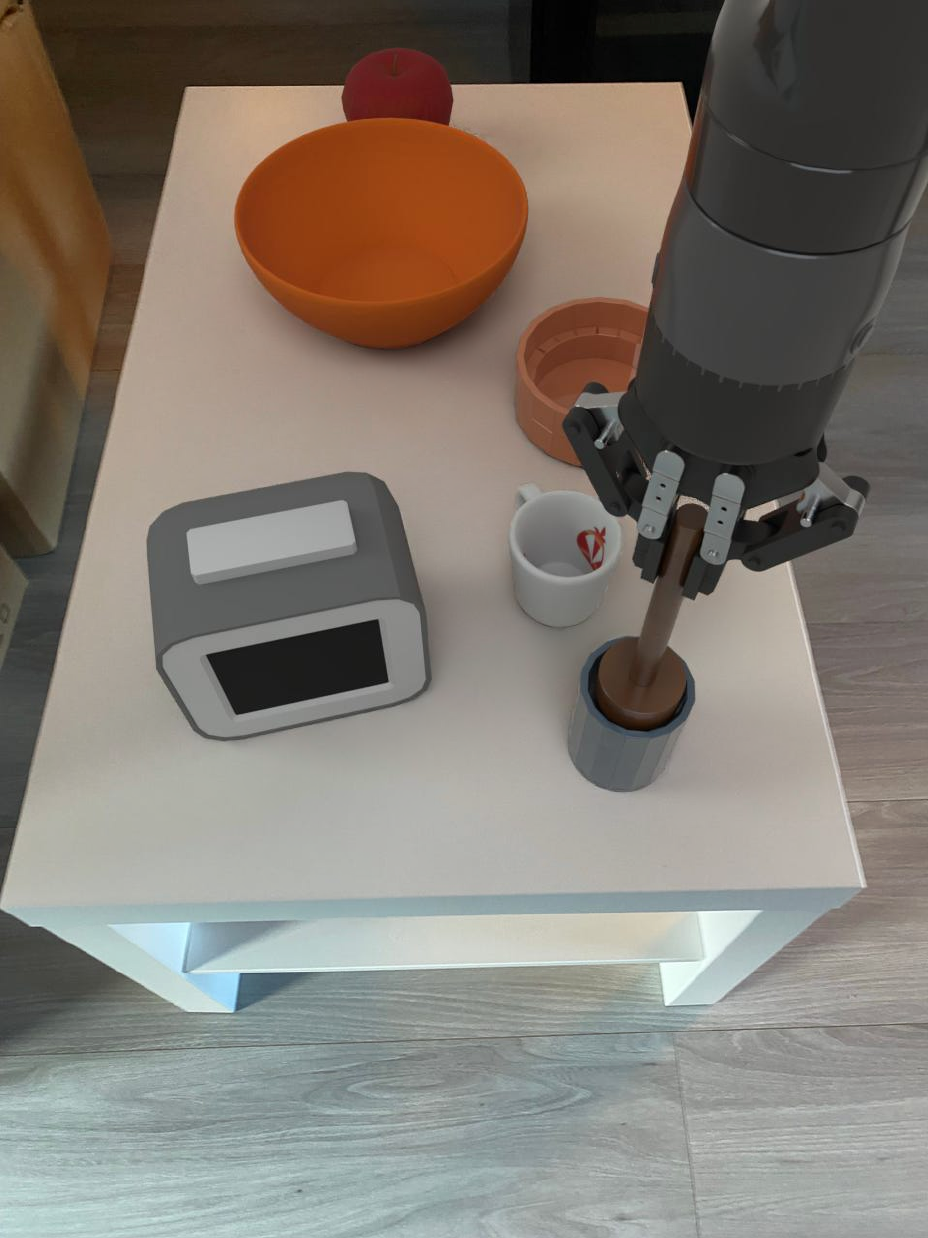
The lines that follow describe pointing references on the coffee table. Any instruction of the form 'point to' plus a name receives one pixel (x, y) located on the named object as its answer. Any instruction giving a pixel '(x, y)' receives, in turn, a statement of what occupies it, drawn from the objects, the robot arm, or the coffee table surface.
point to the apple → (398, 87)
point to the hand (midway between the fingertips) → (673, 575)
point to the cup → (562, 554)
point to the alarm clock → (286, 606)
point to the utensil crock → (620, 735)
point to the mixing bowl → (573, 363)
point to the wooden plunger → (653, 640)
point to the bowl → (382, 228)
